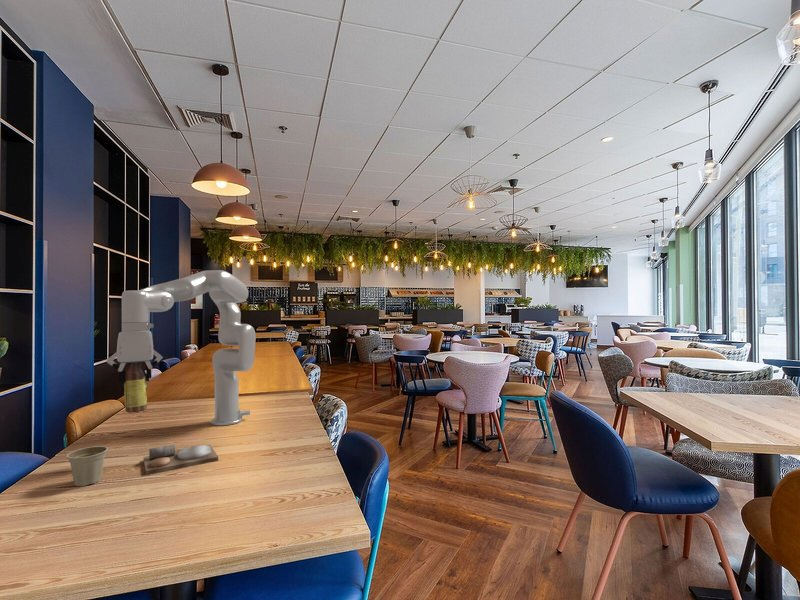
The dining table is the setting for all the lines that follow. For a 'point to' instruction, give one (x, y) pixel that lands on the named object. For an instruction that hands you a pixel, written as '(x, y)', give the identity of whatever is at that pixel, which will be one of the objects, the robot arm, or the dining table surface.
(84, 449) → the flower pot
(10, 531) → the dining table surface
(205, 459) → the board
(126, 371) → the sauce bottle
